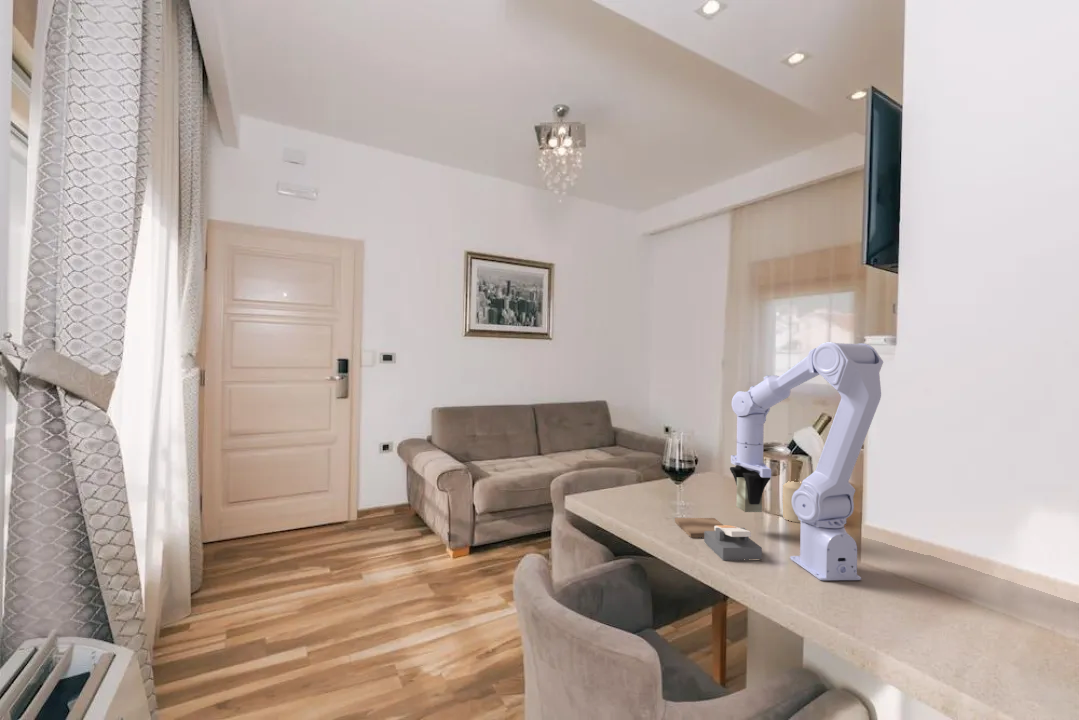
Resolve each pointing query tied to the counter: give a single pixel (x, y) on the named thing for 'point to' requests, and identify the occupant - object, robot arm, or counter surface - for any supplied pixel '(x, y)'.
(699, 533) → the walnut board
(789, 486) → the candle
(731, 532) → the rocker
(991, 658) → the counter surface
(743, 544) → the switch base
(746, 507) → the block
